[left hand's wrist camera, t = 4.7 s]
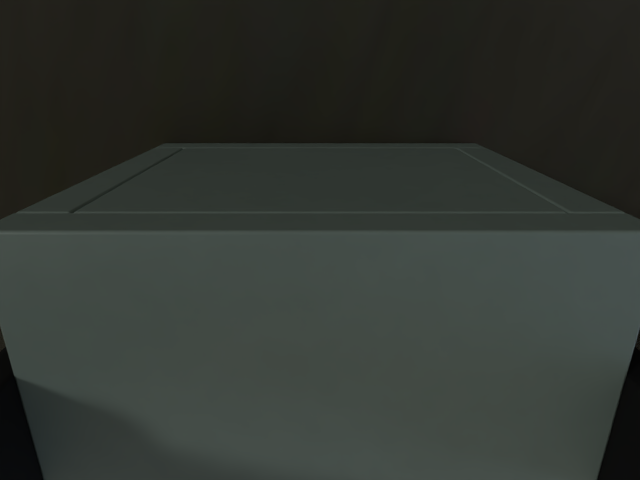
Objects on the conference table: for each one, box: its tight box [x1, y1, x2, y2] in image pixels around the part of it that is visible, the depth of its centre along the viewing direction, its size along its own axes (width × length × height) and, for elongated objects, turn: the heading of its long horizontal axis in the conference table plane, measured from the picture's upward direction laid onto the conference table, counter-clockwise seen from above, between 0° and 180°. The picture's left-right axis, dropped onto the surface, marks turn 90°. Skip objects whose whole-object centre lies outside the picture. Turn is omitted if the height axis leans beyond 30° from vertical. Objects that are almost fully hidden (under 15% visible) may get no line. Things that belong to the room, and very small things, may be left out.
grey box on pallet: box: [0, 143, 640, 480], centre depth 15 cm, size 17×11×10 cm, turn 0°
